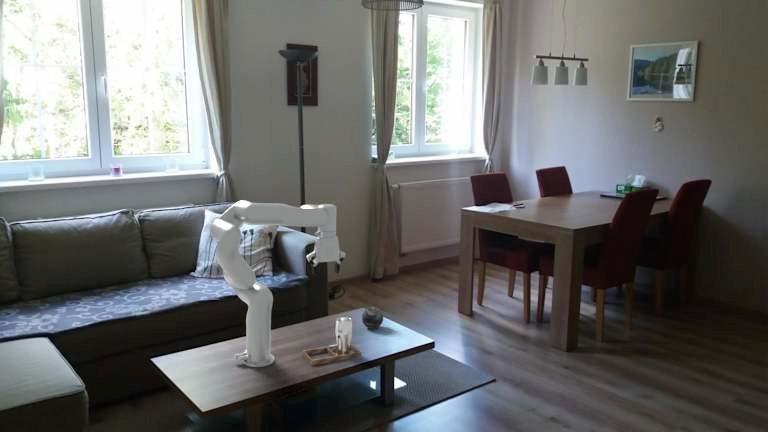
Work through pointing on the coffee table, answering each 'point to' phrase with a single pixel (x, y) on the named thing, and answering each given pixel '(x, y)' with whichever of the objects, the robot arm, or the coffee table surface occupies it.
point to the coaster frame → (330, 351)
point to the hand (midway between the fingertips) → (325, 273)
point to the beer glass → (343, 335)
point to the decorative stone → (372, 317)
